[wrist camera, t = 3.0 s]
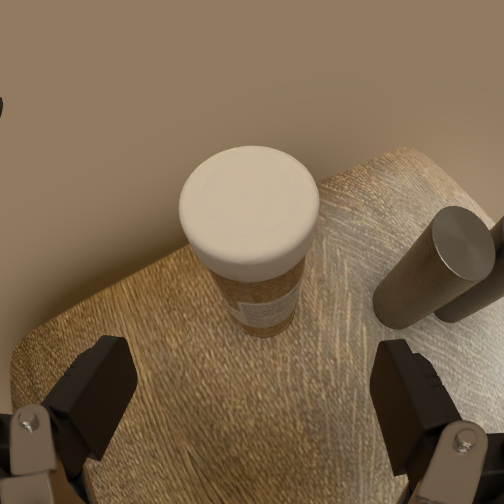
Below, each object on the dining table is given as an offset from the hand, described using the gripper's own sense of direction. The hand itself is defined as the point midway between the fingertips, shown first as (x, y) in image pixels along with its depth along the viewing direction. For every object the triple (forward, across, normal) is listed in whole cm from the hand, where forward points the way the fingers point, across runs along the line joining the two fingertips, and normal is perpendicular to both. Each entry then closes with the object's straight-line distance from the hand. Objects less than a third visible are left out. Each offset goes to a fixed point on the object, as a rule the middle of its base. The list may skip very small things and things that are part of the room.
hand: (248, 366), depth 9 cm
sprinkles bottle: (+12, 0, +5) cm, 13 cm away
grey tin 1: (+12, -10, +5) cm, 16 cm away
